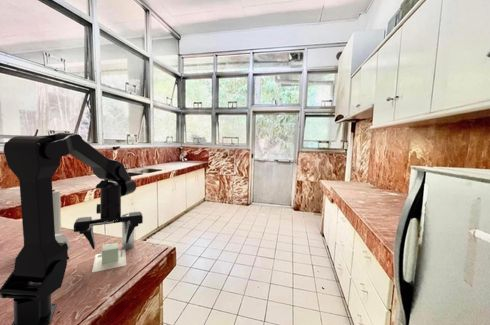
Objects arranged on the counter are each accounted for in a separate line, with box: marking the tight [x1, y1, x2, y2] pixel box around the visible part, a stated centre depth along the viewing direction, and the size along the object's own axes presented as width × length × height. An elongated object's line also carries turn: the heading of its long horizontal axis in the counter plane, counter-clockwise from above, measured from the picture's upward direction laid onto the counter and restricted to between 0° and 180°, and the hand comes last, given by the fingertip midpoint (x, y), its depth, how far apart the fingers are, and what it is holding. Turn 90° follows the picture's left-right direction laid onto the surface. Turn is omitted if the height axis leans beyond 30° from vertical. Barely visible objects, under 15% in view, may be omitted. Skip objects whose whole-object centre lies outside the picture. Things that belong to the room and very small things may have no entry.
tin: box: [121, 212, 135, 250], centre depth 80 cm, size 4×4×12 cm
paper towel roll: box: [52, 189, 62, 234], centre depth 76 cm, size 7×6×21 cm
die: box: [55, 233, 72, 250], centre depth 71 cm, size 8×9×10 cm
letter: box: [91, 249, 127, 274], centre depth 71 cm, size 12×9×1 cm
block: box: [101, 242, 119, 265], centre depth 71 cm, size 4×4×4 cm
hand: (110, 246), depth 71 cm, fingers open, 9 cm apart
